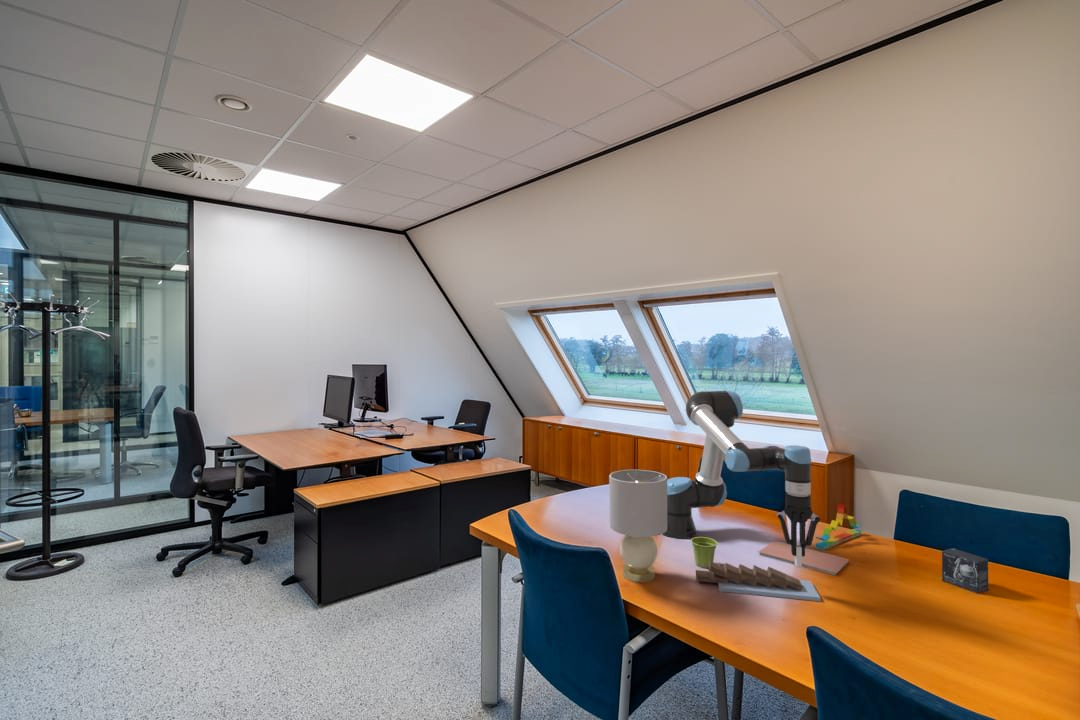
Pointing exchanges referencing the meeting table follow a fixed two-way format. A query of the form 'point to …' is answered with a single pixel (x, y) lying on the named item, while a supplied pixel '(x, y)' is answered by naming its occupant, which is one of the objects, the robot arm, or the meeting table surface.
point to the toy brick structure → (837, 539)
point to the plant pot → (703, 550)
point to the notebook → (805, 558)
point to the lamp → (638, 518)
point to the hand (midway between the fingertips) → (798, 565)
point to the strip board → (772, 590)
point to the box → (965, 570)
